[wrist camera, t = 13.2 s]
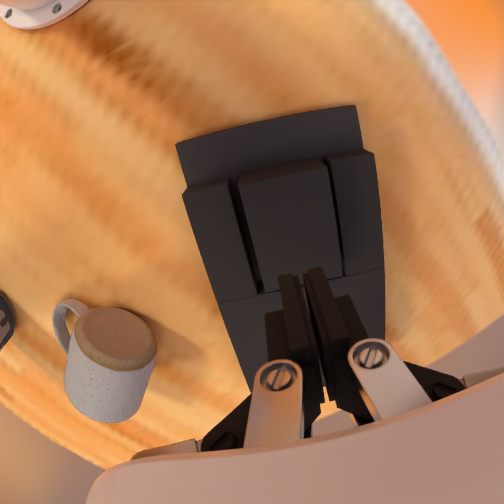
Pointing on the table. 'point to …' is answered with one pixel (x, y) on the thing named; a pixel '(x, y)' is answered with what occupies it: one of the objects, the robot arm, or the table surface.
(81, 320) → the ceramic mug
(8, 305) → the soda can
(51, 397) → the table surface
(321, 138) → the pad base
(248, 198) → the loose pad
